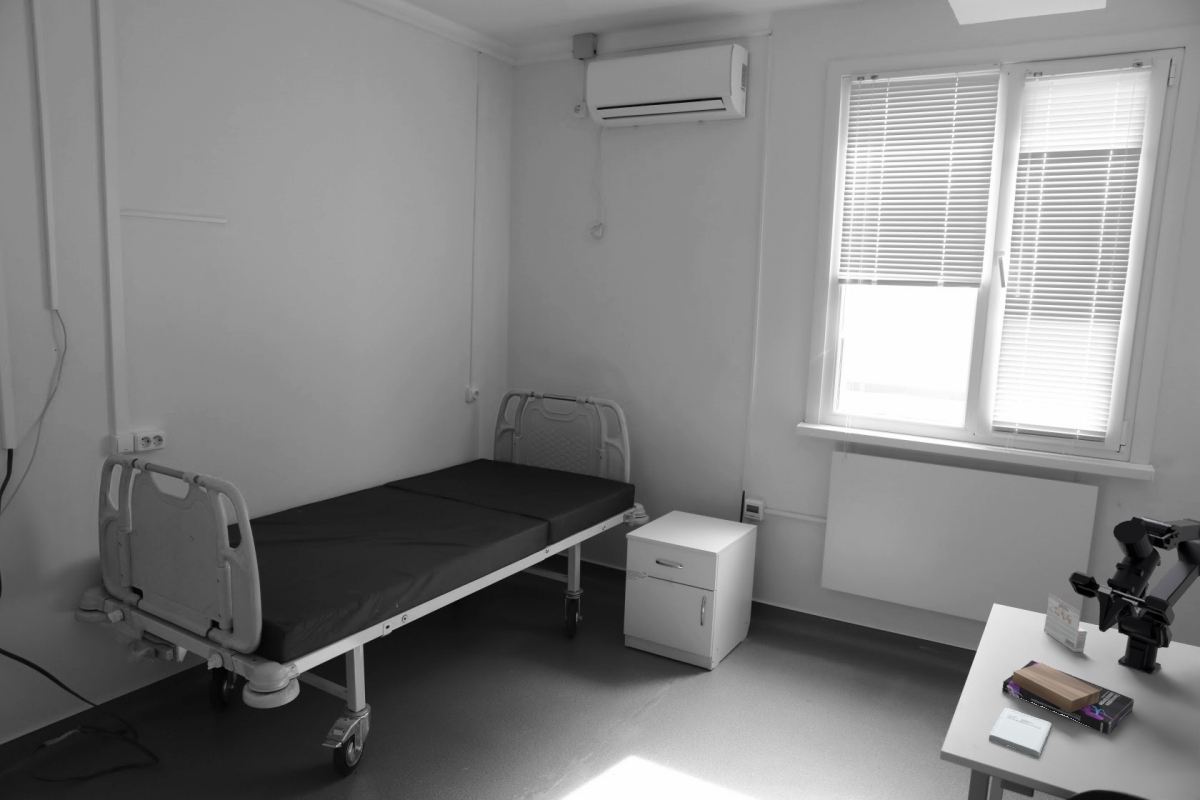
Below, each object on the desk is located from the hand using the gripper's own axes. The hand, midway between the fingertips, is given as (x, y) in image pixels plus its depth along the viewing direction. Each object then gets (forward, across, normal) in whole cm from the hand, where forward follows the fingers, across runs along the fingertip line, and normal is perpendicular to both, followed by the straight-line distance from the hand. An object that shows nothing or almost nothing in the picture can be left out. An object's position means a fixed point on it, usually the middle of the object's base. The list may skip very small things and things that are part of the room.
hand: (1101, 630), depth 167 cm
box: (+17, 0, -1) cm, 17 cm away
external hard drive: (+31, -2, +13) cm, 34 cm away
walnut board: (+13, 0, +2) cm, 13 cm away
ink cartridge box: (-2, +15, -20) cm, 25 cm away
